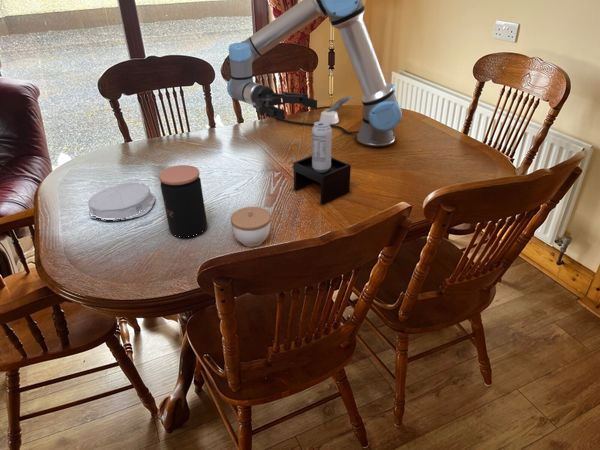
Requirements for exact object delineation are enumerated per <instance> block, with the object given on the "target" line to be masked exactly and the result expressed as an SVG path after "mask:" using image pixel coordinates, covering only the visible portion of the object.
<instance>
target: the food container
mask: <svg viewBox="0 0 600 450" xmlns="http://www.w3.org/2000/svg"><path fill="white" fill-rule="evenodd" d="M155 201H156V197H155V196H154V194H153V193H152V192H151V189H150V186H148V185H147V184H144V183H142V182H141V183H140V182H124V183H119V184H116V185H114V186H110V187H107V188H105V189H102V190H101V191H98V192H96V193H95V194H93V195H92V196H91V197H90V198H89V199H88V205H87V207H88V209H89V210H88V217H89V218H91V219H96V216H98V217H101V218H115V219H117V218H118V219H119V218H120V219H121V221H124V220H130V219H134V218H138V217H142V216H144V215H146V214H147V213H148V212H149V211H151V209H152V208H153V207H154V206H153V205H154V203H155ZM141 210H142V211H141ZM144 210H145V211H144ZM139 211H140V213H139ZM90 213H91V214H92V215H96V216H91V214H90ZM136 214H138V215H136ZM133 215H135V216H133ZM130 216H132V217H130ZM126 217H129V218H126ZM122 218H126V219H122ZM96 220H97V219H96ZM101 221H105V220H104V219H101Z"/></svg>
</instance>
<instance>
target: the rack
mask: <svg viewBox="0 0 600 450" xmlns="http://www.w3.org/2000/svg"><path fill="white" fill-rule="evenodd" d="M292 166H293V167H292V168H293V169H292V171H293V190H294V191H295V192H296V191H299V190H302V189H304V188H307V187H309V186H311V185H315V186H317V187H319V188H320V204H321V205H323V206H324V205H326V204H328V203H331V202H333V201H334V200H337V199H338V198H341V197H343V196H345V195H348V194H349V193H350V191H351V189H350V188H351V170H352V169H351V167H352V166H351V164H349V163H347V162H344V161H342V160H340V159H338V158H335V157H332V156H331V167H330V168H329V170H328V171H326V172H317V171H315V170H314V168H313V167H312V155H309V156H307V157H304V158H302V159H299V160H296V161H294V162H293V163H292Z"/></svg>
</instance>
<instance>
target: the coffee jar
mask: <svg viewBox="0 0 600 450" xmlns="http://www.w3.org/2000/svg"><path fill="white" fill-rule="evenodd" d="M158 179H159V181H160V190H161V196H162V200H163V205H164V210H165V214H166V219H167V224H168V229H169V232H170V233H171V235H173V236H175V235H176V236H175V237H176V238H178V239H182V240H183V239H186V240H188V239H193V238H196V237H199V236H201V235H202V234H203V233H204V232H205V231H206V229H207V227H208V221H207V220H208V219H207V214H206V208H205V201H204V194H203V188H202V187H203V186H202V181H201V177H200V170H199V168H198V167H196V166H193V165H188V164H179V165H178V164H177V165H173V166H169V167H167V168H164V169H162V170H161V171H160V172H159V174H158ZM202 231H203V232H202ZM196 234H197V235H196ZM193 235H194V236H193ZM179 236H180V237H179ZM188 236H189V237H188Z"/></svg>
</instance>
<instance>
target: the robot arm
mask: <svg viewBox="0 0 600 450" xmlns="http://www.w3.org/2000/svg"><path fill="white" fill-rule="evenodd" d="M365 11H366V9H365V6H364V3H363V0H300V1H299V2H298V3H296V4H295V5H293V6H291V8H289V9H287V10H286V11H285V12H283V13H282V14H280V15H279V16H278V17H276V18H275V19H273V20H272V21H270V22H269V23H267V24H266V25H265V26H263V27H262V28H261V29H259V30H258V31H256V32H254V33H253V34H252V35H251V36H249V37H248V38H246V39H245V40H242V41H241V42H233V43H231V44H229V46H228V58H229V65H230V66H229V67H230V76H231V78H230V79H229V80H228V82H227V85H226V90H227V91H226V92H227V93H228V95H229V97H231V98H233V99H235V100H236V101H238V102H243V103H246V104H248V105H251V106H252V107H253V108H254V109H255V113H258V115H259V116H264V114H265V117H266V118H269V117H270V116H272V117H273V118H275V119H277V120H278V121H281V122H286V123H289V124H294V125H303V126H312V127H313V126H314V123H315V122H314V123H311V122H303V121H302V122H301V121H294V120H289V119H286V112H285V111H286V110H285V109H282V108H280V107H277V106H284V105H286V104H294V105H295V104H296V105H297V104H299V105H302V106H304V107H307V108H310V109H315V110H317V109H318V100H317V99H314V98H311V97H309V94H308V93H305V92H304V93H301V92H289V91H285V90H282V91H281V93H279V92H275V91H274V89H272V88H271V87H270V86H267V85H264V84H261V83H258V82H254V75H253V63H254V61H256V60H257V59H259V58H260V57H262V56H263V55H264V54H266V53H268V52H269V51H270V50H272V49H273V48H275V47H276V46H278V45H279V44H281V43H282V42H283V41H285V40H286V39H288V38H289V37H291V36H292V35H294V34H295V33H298V31H300V30H301V29H303V28H304V27H306V26H307V25H309V24H311V23H312V22H313V21H315V20H317V19H318V18H320V17H326V16H327V18H328V20H329V22H330V25H331V27H333V28H335V29H337V30H338V32H339V34H340V37H341V40H342V42H343V45H344V48H345V51H346V54H347V55H348V58H349V61H350V63H351V66H352V68H353V71H354V73H355V76H356V78H357V81H358V84H359V86H360V89H361V91H362V96H361V98H360V101H361V103H362V118H361V119H362V122H361V124H360V127H359V130H356V131H355V130H354V131H348V130H346V129H345V128H344V127H343V126H340V125H337V124H330V127H331V128H336V129H339V130H341V131H343V132H344V133H345V134H347V135H354V134H356V142H357V143H358V144H359V145H361V146H365V147H369V148H385V147H386V148H387V147H389V146H392V145H393V144H394V143H395V140H396V139H395V138H396V136H395V128H397V127H398V125H400V123H401V120H402V117H403V111H402V108H401V105H400V104H399V102H398V100H397V96H396V94H395V93H396V87H395V85H394V84H393V83H389V82H387V81H386V79H385V76H384V74H383V71H382V67H381V65H380V63H379V59H378V57H377V53H376V50H375V47H374V46H373V43H372V40H371V37H370V34H369V32H368V29H367V26H366V23H365V20H364V18H363V17H364V14H365Z"/></svg>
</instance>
